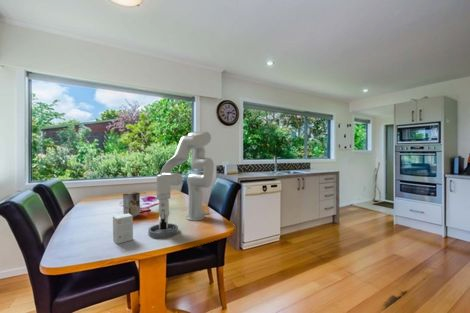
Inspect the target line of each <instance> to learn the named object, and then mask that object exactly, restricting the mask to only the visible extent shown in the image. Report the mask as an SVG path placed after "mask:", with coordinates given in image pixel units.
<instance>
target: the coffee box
mask: <svg viewBox="0 0 470 313" xmlns="http://www.w3.org/2000/svg"><path fill="white" fill-rule="evenodd" d="M140 194H141V193H140V192H136V191H132V192H128V193H122V202H123V207H122V210H123V213H122V214H128V213H129V214H131V215H132V216H133V217H135V216H140V214H141V200H140V199H141V198H140V196H141V195H140Z"/></svg>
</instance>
